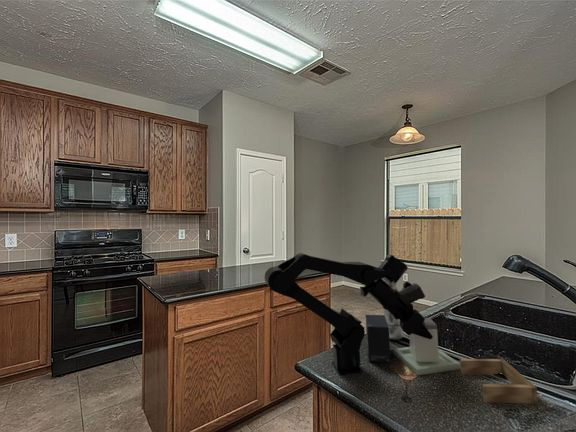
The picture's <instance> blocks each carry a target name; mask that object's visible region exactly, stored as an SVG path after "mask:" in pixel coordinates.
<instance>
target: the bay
mask: <svg viewBox="0 0 576 432" xmlns="http://www.w3.org/2000/svg"><path fill="white" fill-rule="evenodd" d="M459 363H460V369H459V370H460V373H461V375H489V376H490V375H491V376H492V375H493V376H494V374H498V373H502V374H503V375H504V376H505V377H506V378H507V379H506V378H505V377H504V376H503V375H502V376H503V377H504V378H505V379H506V380H508V382H509V383H510V384H508V383H507V384H505V383H504V384H502V383H501V384H500V383H499V384H498V383H482V384H481V386H482V387H481V388H482V389H481V391H482V400H483V401H484V403H498V404H502V403H503V404H507V403H508V404H532V405H533V404H536V405H538V404H539V403H538V387H537V386H535V385H534V383H532V382H531V381H530V380H528V379H527V378H526V377H525V376H524V375H522V374H521V373H520V372H519V371H518V370H517V369H515V367H513V366H512V365H511V364H509V362H507V361H506V360H505V359H504V358H492V359H491V358H460V359H459Z"/></svg>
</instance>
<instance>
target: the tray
mask: <svg viewBox="0 0 576 432" xmlns="http://www.w3.org/2000/svg"><path fill="white" fill-rule="evenodd" d="M392 352H393V355H394V356H395V357H396V358H397V359H398V360H399V361H401V362H402V363H403V364H404V365H405V366H406V367H408V369H410V371H411V372H412V373H414V374H415V375H416V376H423V375H429V374H437V373H441V372H449V371H455V370H461V369H460V362H458V361H457V360H455V358H452V357H451V356H449V355H448V354H446V353H445V352H443V351H442V350H441V349H439V348H438V354H439V362H417V361H415V359H414V357H413V355H412V354H411V352H410V346H406V347H400V348H399V347H397V348H393V349H392Z"/></svg>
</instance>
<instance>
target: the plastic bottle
mask: <svg viewBox="0 0 576 432" xmlns="http://www.w3.org/2000/svg"><path fill="white" fill-rule="evenodd" d="M384 281H385V280H384ZM385 282H386V281H385ZM386 283H387V284H388V285H389V286H390V287H392V288H393V289H394V290H395V289H396V290H397V291H398V292H399V291H400V290H399V288H397V283H393V282H392V283H391V284H390V283H388V282H386ZM383 314H384V315H385V318H386V321H387V324H388V327H389V340H394V341H396V340H401V339H402V338H403V337H404V335H405V332H404V331H403V330H402V328H401V327H400V320H399V319H398V320H396V319H395V318H394V316H393V315H392V314H391V313H390V312H389V311H388V310H387V309H386V310H385V309H384V308H383Z"/></svg>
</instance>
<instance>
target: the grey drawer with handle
mask: <svg viewBox="0 0 576 432" xmlns="http://www.w3.org/2000/svg"><path fill="white" fill-rule="evenodd" d="M424 318H425V320H424V322H423V324H424V326H425V327H426V328H427V330H428V331H429V332H430V333H431V335H432V336H433V338H432V339H427V338H424V337H421V336H418V335H415V334H411V335H408V336H409V337H408V338H409V347H410V352H411V354H412V355H413V357H414V359H415V361H417V362H439V354H438V349H439V342H438V341H439V340H438V339H439V337H438V325H437V324H436V323H435V322H434V321H433V319H431V317H424Z"/></svg>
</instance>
